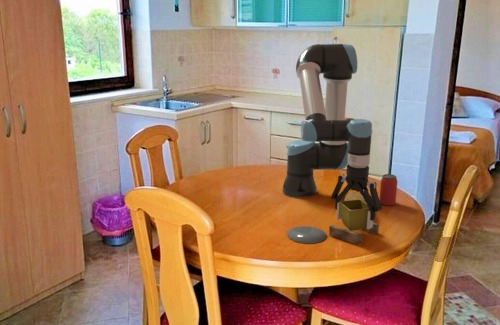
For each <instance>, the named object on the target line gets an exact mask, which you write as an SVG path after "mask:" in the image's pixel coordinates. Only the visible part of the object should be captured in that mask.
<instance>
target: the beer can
mask: <svg viewBox="0 0 500 325" xmlns="http://www.w3.org/2000/svg"><path fill="white" fill-rule="evenodd" d="M397 189H398V178H397V175H395V174H392V173H386V174H383V175H382V177H381V179H380V189H379V200H380V204H381V205H384V206H386V207H387V206H388V207H389V206H395V205H396V203H397V192H398V190H397Z"/></svg>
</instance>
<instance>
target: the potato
mask: <svg viewBox="0 0 500 325" xmlns="http://www.w3.org/2000/svg"><path fill="white" fill-rule="evenodd" d="M344 197H345V198H344V200H343V201H347V200H356V199H361V200H362V201H364V202H365V200H364V198H363V196H362V195H361V194H360V192H357V191H353V192H352V191H351V192H350V191H349V192H348V193H347V194H346V195H345V196H344ZM365 203H366V202H365Z"/></svg>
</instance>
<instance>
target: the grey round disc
mask: <svg viewBox="0 0 500 325" xmlns="http://www.w3.org/2000/svg"><path fill="white" fill-rule="evenodd" d="M286 232H287V233H286V236H287V238H288V239H289V240H290V241H293V242H295V243H300V244H309V245H310V244H317V243H321V242H323V241H325V240H326V239H327V233H326V231H324V230H323V229H320V228H319V227H315V226H307V225H305V226H296V227H293V228H290V229H288V231H286Z"/></svg>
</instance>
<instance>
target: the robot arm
mask: <svg viewBox="0 0 500 325" xmlns="http://www.w3.org/2000/svg"><path fill="white" fill-rule="evenodd" d="M357 71H358V56H357V50H356V48H355V47H354V46H353V45H352V44H347V43H325V44H323V43H322V44H321V43H317V44H312V45H310V46H308V47H306V49H304V50H303V51H302V52H301V54H300V55H299V56H298V58H297V61H296V66H295V73H296V77H297V78H298V79H299V83H300V89H301V90H300V91H301V96H302V105H303V113H304V118H305V119H304V120H303V121H302V122H301V123H300V136H301V138H300V139H297V140H293V141H291V142H290V143H288V145H287V149H286V150H287V152H286V156H287V158H286V159H287V160H286V176H285V178H284V183H283V185H282V193H283V194H284V195H286V196H289V197H293V198H308V197H312V196H315V195H316V194H317V190H318V189H317V185H316V181H315V178H314V171H315V170H316V171H317V170H318V171H319V170H322V171H323V170H324V171H325V170H327V171H328V170H330V171H331V170H334V171H335V170H336V171H337V170H344V169H345V168H346V175H345V174H340V175H338V177H337V182H336V185H335V187H334V189H333V191H332V192H331V193H332V194H331V196H330V198H331V200H334V202H335V207H334V208H335V210H336V220H337V221H339V220H341V217H340V209H339V202H340V201H343V198H344V197H346V195H347V194H348V193H349V192H350V191H354V192H357V193H360V194H361V195H362V196H363V198H364V200H365V202H366V204H367V205H368V207H369V209H370V211H368V218H367V229H368V230H369V229H370V228H372V227H373V222H374V221H375V220H376V218H377V217H376V214H377V212H379V211H382V209H383V208H382V204H381V203H380V196H379V194H378V189H377V185H378V184H377V182H375V181H373V182H372V181H369V174H370V173H369V172H370V166H369V165H370V162H371V161H370V160H371V159H370V158H371V146H372V144H371V143H372V135H373V124H372V121H370V120H367V119H364V118H353V117H347V118H346V108H347V107H346V106H347V96H348V95H347V93H348V83H349V81H351V80H352V79H353V77H352V76H353V75H354V74H356V73H357ZM321 74H323V79H324V80H325V82H326V86H325V87H326V89H325V101H324V96H323V92H322V86H321V80H320V75H321ZM324 102H325V103H324ZM316 142H317V143H316ZM344 183H346V185H345V187H344V189H343V190H342V187H343V185H344ZM341 190H342V191H341Z"/></svg>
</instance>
